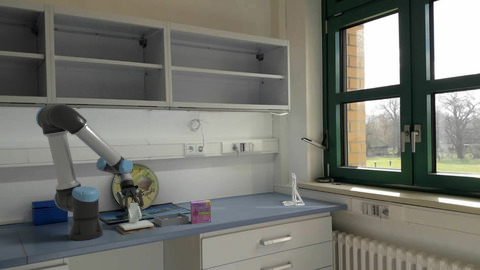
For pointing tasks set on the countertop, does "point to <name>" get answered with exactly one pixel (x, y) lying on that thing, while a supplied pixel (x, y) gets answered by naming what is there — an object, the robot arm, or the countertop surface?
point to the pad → (134, 229)
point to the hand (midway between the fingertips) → (135, 218)
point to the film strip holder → (294, 191)
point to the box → (200, 212)
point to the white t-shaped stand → (135, 219)
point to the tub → (171, 219)
